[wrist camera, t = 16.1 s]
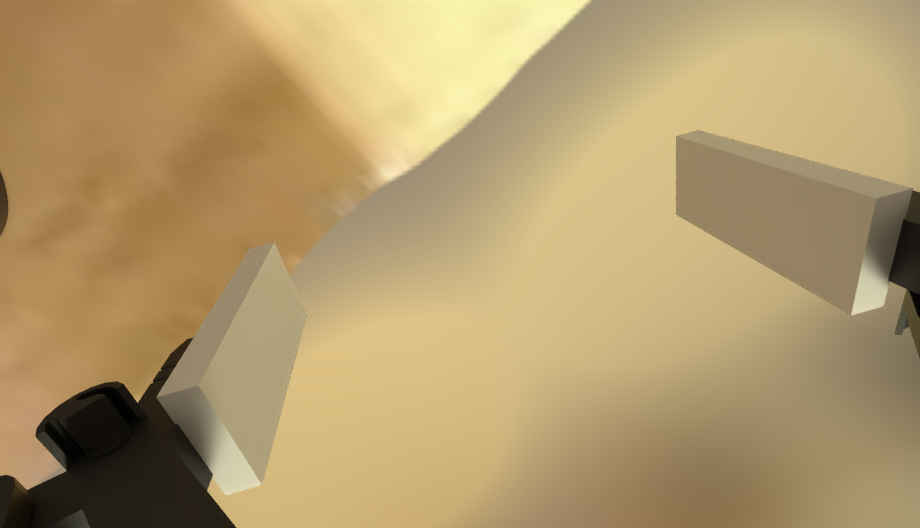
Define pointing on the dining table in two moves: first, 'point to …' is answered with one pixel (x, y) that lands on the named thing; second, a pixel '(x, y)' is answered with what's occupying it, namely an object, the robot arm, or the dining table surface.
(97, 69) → the dining table surface
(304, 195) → the dining table surface
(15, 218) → the dining table surface
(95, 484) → the robot arm
